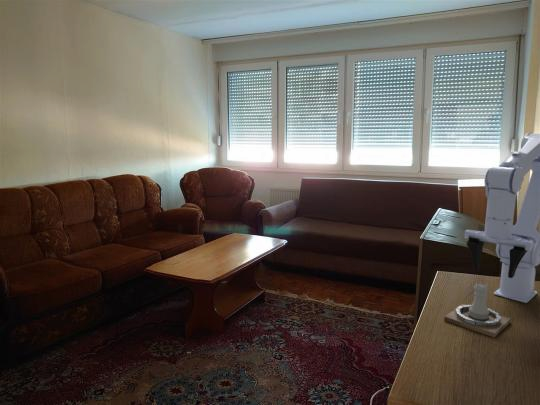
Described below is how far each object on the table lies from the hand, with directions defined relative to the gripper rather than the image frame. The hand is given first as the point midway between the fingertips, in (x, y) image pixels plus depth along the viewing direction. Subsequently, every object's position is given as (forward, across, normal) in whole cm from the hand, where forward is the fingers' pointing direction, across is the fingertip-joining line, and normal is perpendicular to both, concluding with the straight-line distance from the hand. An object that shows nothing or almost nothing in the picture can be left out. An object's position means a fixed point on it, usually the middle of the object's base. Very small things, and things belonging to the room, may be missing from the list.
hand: (493, 272), depth 102 cm
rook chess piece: (+9, 0, -7) cm, 12 cm away
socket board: (+10, 0, -8) cm, 13 cm away
